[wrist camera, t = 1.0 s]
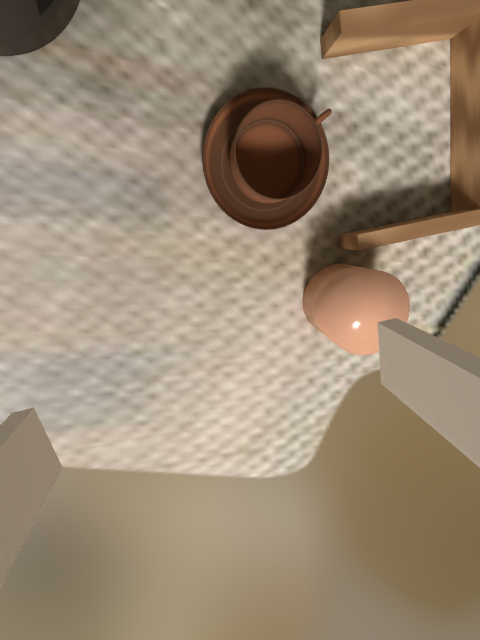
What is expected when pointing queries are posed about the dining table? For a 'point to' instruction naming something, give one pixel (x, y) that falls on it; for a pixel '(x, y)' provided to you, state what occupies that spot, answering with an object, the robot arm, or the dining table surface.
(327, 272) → the peach rounded capsule
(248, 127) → the cup and saucer
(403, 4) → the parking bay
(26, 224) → the dining table surface
